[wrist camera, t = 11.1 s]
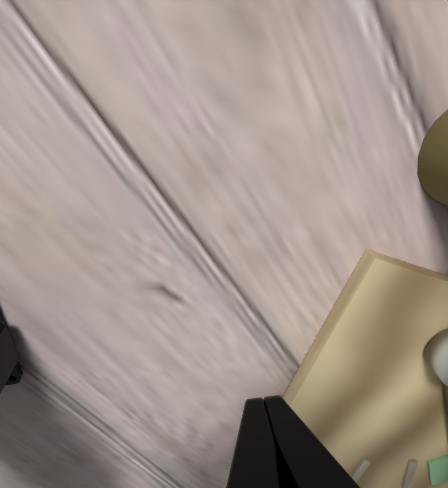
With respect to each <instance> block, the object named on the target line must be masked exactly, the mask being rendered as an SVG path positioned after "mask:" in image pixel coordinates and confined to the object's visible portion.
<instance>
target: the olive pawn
mask: <svg viewBox="0 0 448 488" xmlns="http://www.w3.org/2000/svg"><path fill="white" fill-rule="evenodd" d="M418 176H419V179H420V182H421V185H422V188H423V189H424V190H425V192H426V193H427V194H428V195H429V196H430V197H431V199H433V200H435V201H437V202H439V203H441V204H443V205H446V206H448V110H447V111H446V112H444V113H443V114H442V115H441V116H440V117H439V118H438V119H437V120H436V121H435V122H434V124H433V125H432V127H431V128H430V130H429V132H428V133H427V135H426V136H425V138H424V140H423V143H422V146H421V149H420V152H419V155H418Z"/></svg>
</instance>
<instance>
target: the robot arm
mask: <svg viewBox="0 0 448 488" xmlns="http://www.w3.org/2000/svg"><path fill="white" fill-rule="evenodd" d="M18 360H19V356H18V354H17V351H16V349H15V346H14V343H13V341H12V338H11V336H10V333H9V331H8V328H7V326H6V325H5V324H4V323H3V321H2V318H1V316H0V393H1V391H2V389H3V388H4V386H5V385H12V384H17V383H18V382H20V380H21V378H22V376H23V372H22V369H21V366H20V364H19V361H18ZM12 375H14V376H12ZM226 488H360V487H359V485H358V484H357V483H356V482H355V481H354V480H353V478H352V477H351V476H350V475H349V474H348V473H347V472H346V470H345V469H344V468H343V467H342V466H341V465H340V463H339V462H338V461H337V460H336V459H335V458H334V457H333V455H332V454H331V453H330V452H329V451H328V450H327V449H326V447H325V446H324V445H323V444H322V443H321V442H320V440H319V439H318V438H317V437H316V436H315V435H314V434H313V432H312V431H311V430H310V429H309V428H308V427H307V425H306V424H305V423H304V422H303V421H302V420H301V419H300V417H299V416H298V415H297V414H296V413H295V412H294V410H293V409H292V408H291V407H290V406H289V405H288V404H287V402H286V401H285V400H284V399H283V398H282V397H281V396H279V395H275V396H268V397H265V398H264V399H262V398H253V399H247V400H246V402H245V406H244V410H243V415H242V419H241V424H240V428H239V433H238V437H237V442H236V446H235V451H234V455H233V460H232V464H231V469H230V473H229V478H228V482H227V487H226Z"/></svg>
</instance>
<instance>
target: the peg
mask: <svg viewBox="0 0 448 488" xmlns="http://www.w3.org/2000/svg"><path fill="white" fill-rule="evenodd" d="M425 360H426V362H427V364H428V365H429V366H430V367H431V369H432V370H433V371H434V372H435V374H436V375H437V376H438V377H439V378H440V380H441V381H442V382H443V383H444V392H445V401H446V410H447V419H448V328H447V329H445V330H443V331H441V332H440V333H438V334H437V335H436V336H435V337H434V338H433V339H432V340H431V341H430V342H429V344H428V346H427V348H426V351H425Z"/></svg>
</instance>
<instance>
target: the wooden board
mask: <svg viewBox="0 0 448 488" xmlns="http://www.w3.org/2000/svg"><path fill="white" fill-rule="evenodd" d="M447 328H448V276H446V275H443V274H440V273H437V272H434V271H431V270H428V269H425V268H422V267H419V266H416V265H413V264H409V263H406V262H403V261H400V260H397V259H394V258H391V257H388V256H385V255H382V254H379V253H376V252H373V251H370V250H367V249H366V250H365V252H364V254H363V256H362V257H361V259H360V261H359V263H358V264H357V266H356V268H355V270H354V271H353V273H352V275H351V277H350V279H349V280H348V282H347V284H346V286H345V287H344V289H343V291H342V293H341V295H340V296H339V298H338V300H337V302H336V303H335V305H334V307H333V309H332V310H331V312H330V314H329V316H328V318H327V319H326V321H325V323H324V325H323V326H322V328H321V330H320V332H319V334H318V335H317V337H316V339H315V341H314V342H313V344H312V346H311V348H310V349H309V351H308V353H307V355H306V357H305V358H304V360H303V362H302V364H301V365H300V367H299V369H298V371H297V373H296V374H295V376H294V378H293V380H292V381H291V383H290V385H289V387H288V388H287V390H286V392H285V394H284V396H283V397H282V398H283V399H284V400H285V401H286V402H287V404H288V405H289V406H290V407H291V408H292V409H293V410H294V412H295V413H296V414H297V415H298V416H299V417H300V419H301V420H302V421H303V422H304V423H305V424H306V425H307V427H308V428H309V429H310V430H311V431H312V432H313V434H314V435H315V436H316V437H317V438H318V439H319V440H320V442H321V443H322V444H323V445H324V446H325V447H326V449H327V450H328V451H329V452H330V453H331V454H332V455H333V457H334V458H335V459H336V460H337V461H338V462H339V463H340V465H341V466H342V467H343V468H344V469H345V470H346V472H347V473H348V474H349V475H350V476H351V477H352V478H353V480H354V481H355V482H356V483H357V484H358V485H359V487H360V488H448V419H447V410H446V401H445V392H444V383H443V382H442V381H441V380H440V378H439V377H438V376H437V375H436V374H435V372H434V371H433V370H432V369H431V367H430V366H429V365H428V364H427V362H426V360H425V351H426V348H427V346H428V344H429V342H430V341H431V340H432V339H433V338H434V337H435V336H436V335H437V334H438V333H440V332H441V331H443V330H445V329H447Z"/></svg>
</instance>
